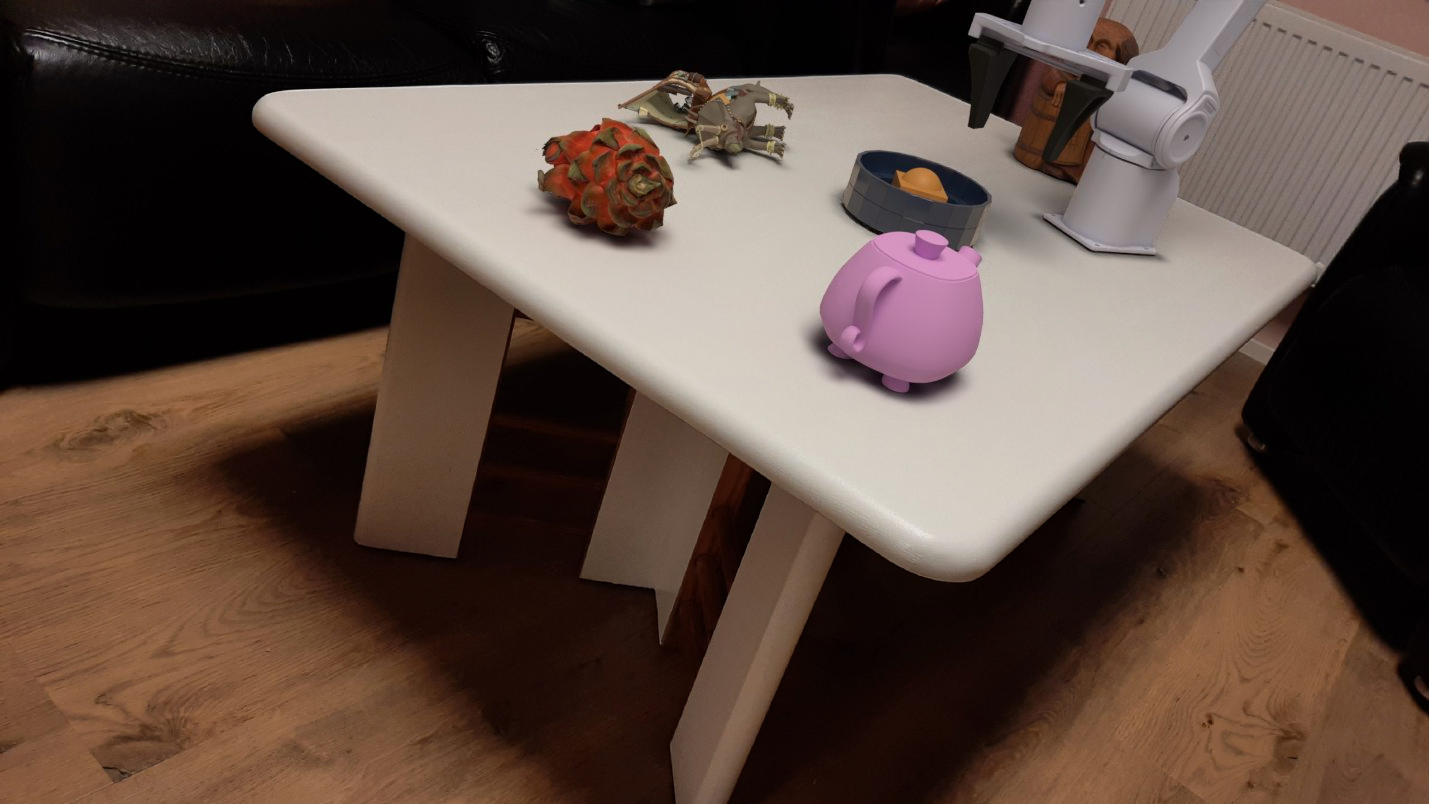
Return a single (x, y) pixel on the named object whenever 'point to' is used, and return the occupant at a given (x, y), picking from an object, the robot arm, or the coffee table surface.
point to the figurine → (713, 112)
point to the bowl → (915, 199)
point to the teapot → (906, 308)
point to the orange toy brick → (920, 184)
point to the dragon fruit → (609, 177)
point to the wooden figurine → (1047, 101)
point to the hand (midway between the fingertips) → (1011, 143)
